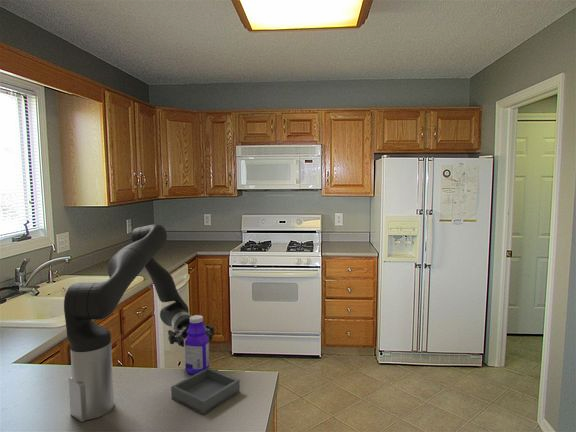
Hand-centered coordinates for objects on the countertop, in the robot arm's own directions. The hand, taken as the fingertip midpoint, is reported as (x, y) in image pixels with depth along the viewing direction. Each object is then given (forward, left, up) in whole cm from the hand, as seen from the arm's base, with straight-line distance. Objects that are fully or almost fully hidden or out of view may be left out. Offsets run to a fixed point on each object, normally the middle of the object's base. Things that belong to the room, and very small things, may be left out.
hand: (197, 340), depth 114 cm
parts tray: (-8, -12, -10) cm, 18 cm away
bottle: (0, +1, -10) cm, 10 cm away
